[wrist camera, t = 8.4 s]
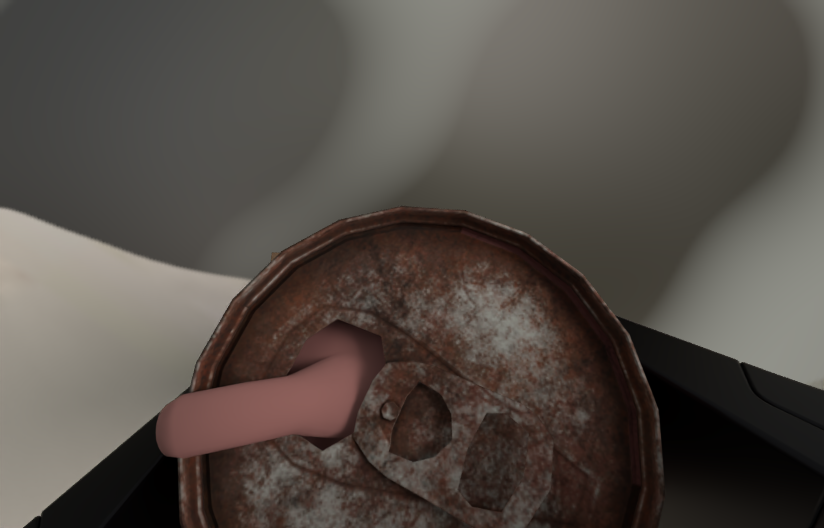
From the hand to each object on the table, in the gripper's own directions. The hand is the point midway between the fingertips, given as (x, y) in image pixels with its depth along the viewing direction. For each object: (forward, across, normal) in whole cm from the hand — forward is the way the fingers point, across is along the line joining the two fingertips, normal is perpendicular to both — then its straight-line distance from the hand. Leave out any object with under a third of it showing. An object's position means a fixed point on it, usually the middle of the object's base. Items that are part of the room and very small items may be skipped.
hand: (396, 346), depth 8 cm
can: (+6, -1, +8) cm, 11 cm away
